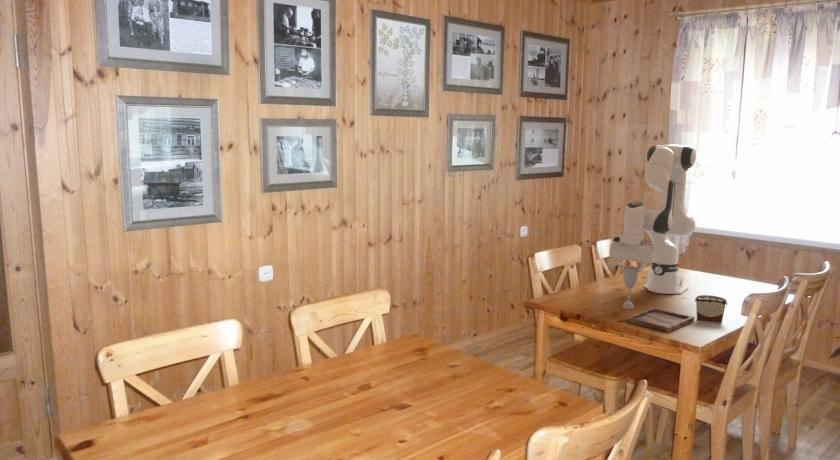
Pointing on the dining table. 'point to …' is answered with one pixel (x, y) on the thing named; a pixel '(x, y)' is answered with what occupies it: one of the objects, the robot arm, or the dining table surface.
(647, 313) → the serving tray
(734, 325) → the dining table surface
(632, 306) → the chalice
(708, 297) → the food container
